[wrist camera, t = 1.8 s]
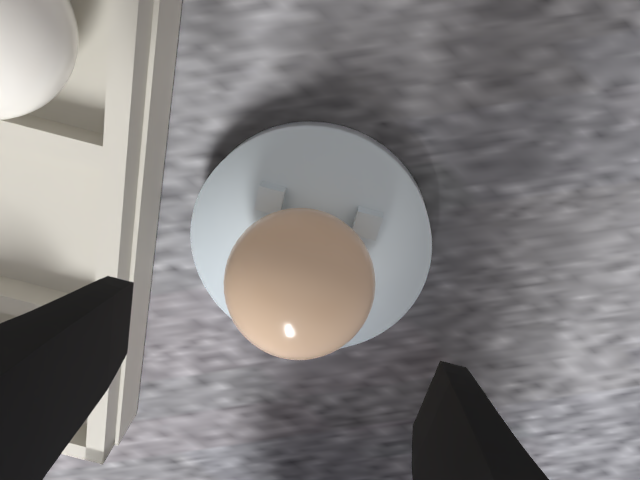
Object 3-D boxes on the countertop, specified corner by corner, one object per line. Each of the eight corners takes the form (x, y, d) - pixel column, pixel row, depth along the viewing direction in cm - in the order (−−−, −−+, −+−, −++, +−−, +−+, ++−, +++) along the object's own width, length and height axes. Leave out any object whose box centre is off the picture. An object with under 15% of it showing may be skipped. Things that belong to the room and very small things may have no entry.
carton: (190, -73, 15) (152, -89, 12) (136, 413, 23) (106, 465, 20) (-51, -137, 15) (-140, -165, 12) (-21, 373, 23) (-71, 420, 20)
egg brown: (392, 207, 16) (397, 273, 12) (356, 321, 18) (350, 410, 14) (256, 171, 16) (217, 226, 12) (233, 289, 18) (193, 370, 14)
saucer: (462, 156, 17) (470, 172, 15) (390, 353, 20) (391, 382, 19) (218, 93, 17) (203, 103, 15) (188, 301, 20) (172, 326, 19)
